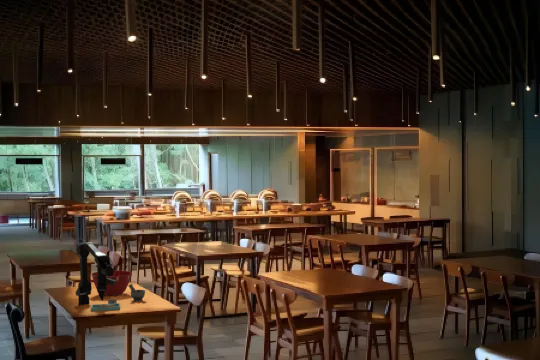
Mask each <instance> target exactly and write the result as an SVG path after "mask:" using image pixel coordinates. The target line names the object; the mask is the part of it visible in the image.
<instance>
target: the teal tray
mask: <svg viewBox="0 0 540 360" xmlns="http://www.w3.org/2000/svg"><path fill="white" fill-rule="evenodd" d="M100 305H108V303H98V304H97V303H96V304H91V306H90V312H105V311H108V312H109V311H121V303H120V302H117V303H114V305H115V307H100Z"/></svg>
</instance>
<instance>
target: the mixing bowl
mask: <svg viewBox="0 0 540 360" xmlns="http://www.w3.org/2000/svg"><path fill="white" fill-rule="evenodd" d="M132 274H133V273H132V272H131V271H129V270H128V271H127V270H114V273H113V275H112V276H107V278H111V277H113V278H114V280H116V282H115V285H114V286H112V285H110V284H107V290H106V291H105V292H104V297H117V296H121V295H122V294H123V293H125V292H126V290H127V289H128V288H127V287H129V285H130V281H131V277H132ZM90 275H91V278H92V280H93V281H92V282H93V284H94V287H95V289H96V290H97V286H98V285H97V271H95V272H92V273H90Z"/></svg>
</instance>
